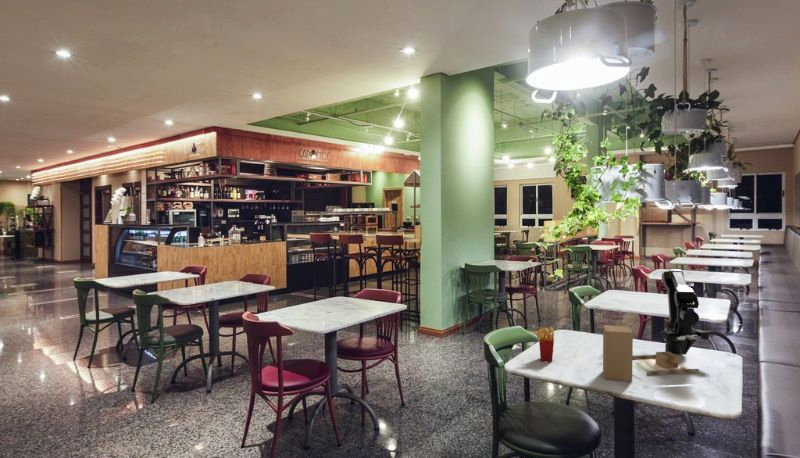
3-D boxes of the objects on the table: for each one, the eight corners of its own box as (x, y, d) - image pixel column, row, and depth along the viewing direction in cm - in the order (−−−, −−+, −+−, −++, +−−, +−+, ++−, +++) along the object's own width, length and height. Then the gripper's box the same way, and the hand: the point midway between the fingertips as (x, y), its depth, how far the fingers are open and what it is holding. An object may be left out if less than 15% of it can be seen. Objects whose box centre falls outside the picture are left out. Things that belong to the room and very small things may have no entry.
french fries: (554, 363, 205) (554, 330, 205) (535, 361, 208) (535, 328, 207) (554, 357, 214) (554, 325, 213) (535, 355, 216) (535, 324, 216)
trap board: (666, 358, 209) (666, 354, 209) (698, 374, 189) (698, 369, 189) (620, 360, 208) (620, 355, 207) (647, 377, 188) (647, 371, 188)
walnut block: (668, 362, 202) (668, 351, 202) (677, 367, 196) (678, 355, 196) (655, 363, 201) (655, 352, 201) (664, 368, 195) (664, 356, 195)
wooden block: (628, 373, 192) (629, 326, 191) (632, 382, 182) (632, 332, 181) (602, 371, 195) (603, 324, 194) (605, 379, 186) (605, 330, 185)
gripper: (691, 313, 207) (691, 347, 208) (652, 315, 206) (652, 349, 207) (710, 320, 196) (709, 355, 197) (669, 321, 195) (668, 357, 195)
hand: (684, 354), depth 199 cm, fingers closed
